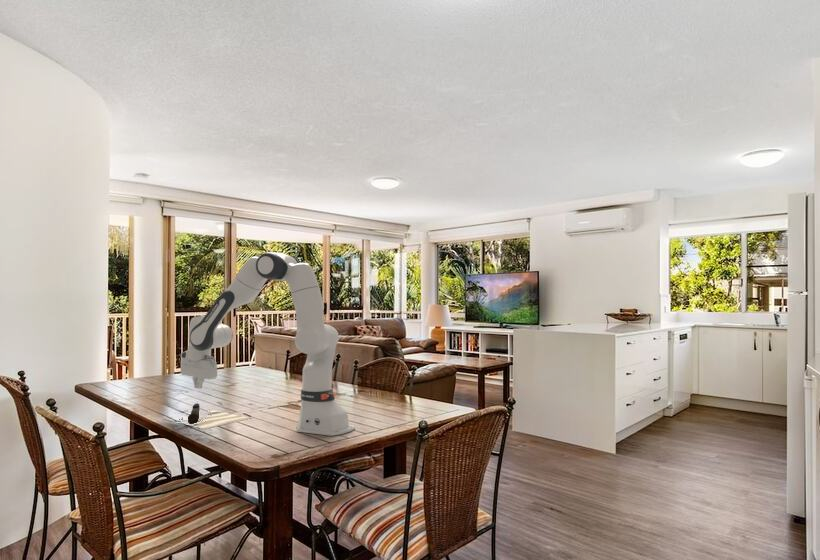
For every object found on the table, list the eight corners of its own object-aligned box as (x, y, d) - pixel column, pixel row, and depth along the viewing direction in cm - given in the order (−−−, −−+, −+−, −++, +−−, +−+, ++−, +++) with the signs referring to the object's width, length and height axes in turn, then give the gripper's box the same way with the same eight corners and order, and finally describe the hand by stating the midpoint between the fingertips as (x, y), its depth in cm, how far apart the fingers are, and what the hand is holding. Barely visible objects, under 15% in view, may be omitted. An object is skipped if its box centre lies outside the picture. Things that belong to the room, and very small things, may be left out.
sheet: (251, 420, 201) (251, 417, 201) (203, 431, 182) (203, 429, 182) (209, 411, 216) (209, 409, 216) (160, 421, 197) (160, 418, 197)
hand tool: (198, 423, 190) (199, 411, 190) (187, 424, 189) (187, 412, 189) (203, 413, 208) (204, 402, 208) (193, 413, 207) (193, 402, 207)
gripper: (221, 355, 201) (220, 390, 200) (191, 352, 212) (190, 384, 211) (208, 357, 195) (206, 392, 195) (178, 353, 206) (176, 386, 206)
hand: (198, 388), depth 203 cm, fingers closed
